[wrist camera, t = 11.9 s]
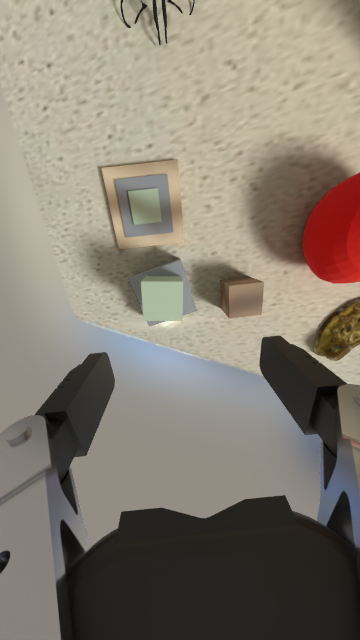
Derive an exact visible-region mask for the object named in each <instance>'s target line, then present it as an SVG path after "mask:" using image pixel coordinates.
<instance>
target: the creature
mask: <svg viewBox="0 0 360 640" xmlns="http://www.w3.org/2000/svg"><path fill="white" fill-rule="evenodd" d="M140 1H141V0H140ZM141 2H142V1H141ZM167 2H170V3H172V4H174V5H176V4H175V3H174V2H172V1H171V0H168V1H167ZM122 3H123V0H121V13H122V17H123V20H124V22H125V24H126V25H127V27H128V28H131V27H130V26H129V25H128V24H127V23H126V21H125V19H124V15H123V9H122ZM142 4H143V3H142ZM176 6H177V5H176ZM145 7H147V5H145V4H143V7H142V9H141V10H140V12H139V14H138V16H137V18H136V21H135V24H136V22H137V20H138V17H139V15H140V13H141V12H142V10H143V9H144V8H145ZM177 8H178V9H179V10H180V12H181V13H182V10H181V9H180V7H178V6H177ZM193 8H194V2H193V7H192V11H193ZM162 10H163V18H164V25H165V39H166V44H167V32H166V28H167V16H166V5H165V0H162ZM192 11H191V13H192ZM191 13H190V14H189V15H191ZM153 14H154V20H155V23H156V28H157V31H158V39H159V45H160V34H159V26H158V18H157V7H156V0H153Z"/></svg>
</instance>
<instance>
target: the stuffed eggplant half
mask: <svg viewBox="0 0 360 640" xmlns="http://www.w3.org/2000/svg"><path fill="white" fill-rule="evenodd" d="M359 344H360V299H356V300H353V301H351V302H349V303H348V304H346V305H344V306H343V307H342V308H340V309H339V310H337V311H336V312H335V313H334V314H333V315H332V316H331V317H330V318H329V319H328V320H327V321H326V322H325V323H324V324H323V326H322V327H321V328H320V330H319V332H318V334H317V336H316V339H315V343H314V352H315V354H317V355H319V356H326V357H327V358H328V359H330V360H333V361H337V360H340V359H341V358H343V357H344V356H345V355H346V354H348V353H349V352H350V351H351V349H352V348H354V347H356V346H357V345H359Z"/></svg>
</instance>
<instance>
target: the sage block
mask: <svg viewBox="0 0 360 640" xmlns="http://www.w3.org/2000/svg"><path fill="white" fill-rule="evenodd" d="M141 292H142V306H143V321H183V280H182V277H181V276H146V277H145V278H144V279H143V280H142V281H141Z"/></svg>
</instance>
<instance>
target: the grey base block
mask: <svg viewBox="0 0 360 640" xmlns="http://www.w3.org/2000/svg"><path fill="white" fill-rule="evenodd" d="M146 276H181V277H182V280H183V315H186V314H189V313H192V312H195V311H197V309H196V306H195V303H194V300H193V297H192V293H191V290H190V287H189V284H188V281H187V277H186V274H185V271H184V268H183V265H182V261H181V259H178V260H175V261H172V262H169V263H166V264H163V265H161V266H158V267H155V268H152V269H149V270H146V271H144V272H141V273H138V274H135V275H133V276H131V277H130V278H128V279H129V281H130V283H131V286H132V288H133V290H134V293H135V295H136V297H137V300H138V302H139V304H140V307H141V309H142V311H143V306H142V292H141V281H142V280H143V279H144V278H145V277H146ZM162 322H165V321H147V323H148V325H149V326H152V325H156V324H159V323H162Z"/></svg>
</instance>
